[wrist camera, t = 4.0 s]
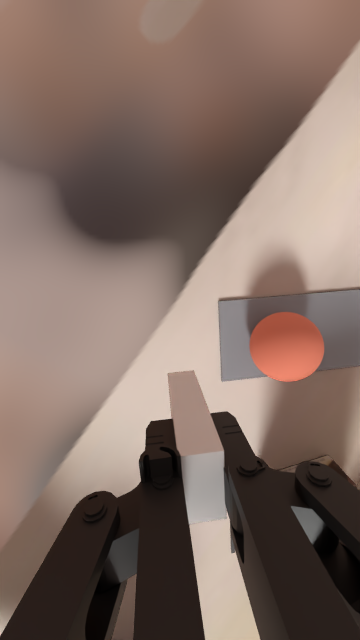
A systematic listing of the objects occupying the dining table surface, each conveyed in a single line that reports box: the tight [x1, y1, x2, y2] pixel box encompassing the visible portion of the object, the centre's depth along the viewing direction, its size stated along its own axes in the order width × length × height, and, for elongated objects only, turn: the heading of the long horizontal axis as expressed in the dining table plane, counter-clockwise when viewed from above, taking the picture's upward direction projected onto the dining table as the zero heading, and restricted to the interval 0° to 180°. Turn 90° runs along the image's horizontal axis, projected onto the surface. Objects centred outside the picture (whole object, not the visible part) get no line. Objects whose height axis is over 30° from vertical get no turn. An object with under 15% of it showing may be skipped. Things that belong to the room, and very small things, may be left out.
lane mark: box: [218, 289, 360, 382], centre depth 26 cm, size 16×8×1 cm, turn 94°
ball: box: [249, 312, 324, 382], centre depth 23 cm, size 6×6×6 cm
